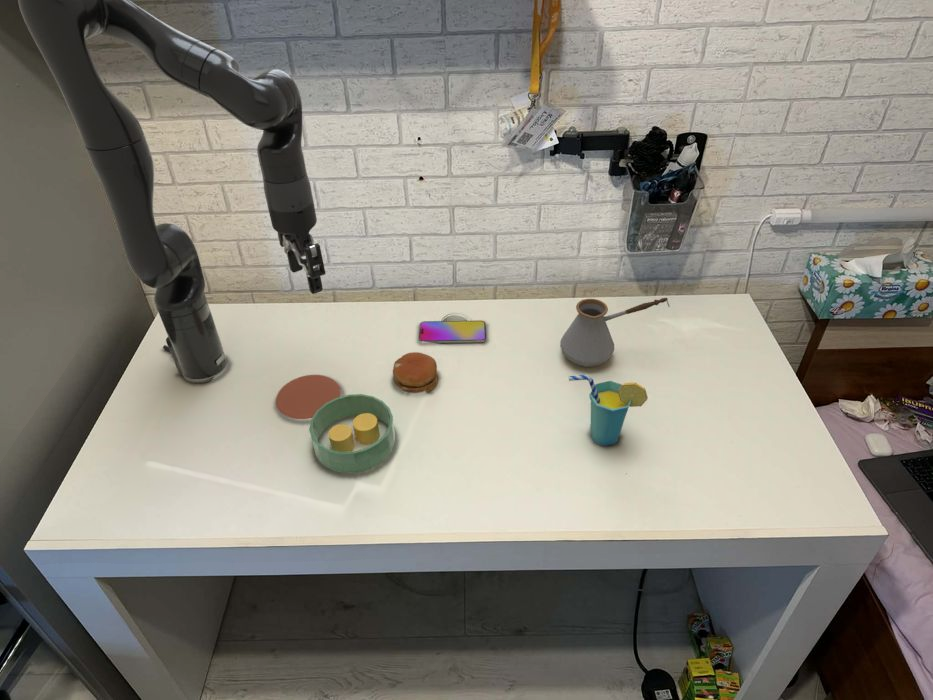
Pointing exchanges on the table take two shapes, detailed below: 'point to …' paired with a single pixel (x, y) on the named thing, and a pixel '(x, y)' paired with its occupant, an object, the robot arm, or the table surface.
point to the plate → (306, 396)
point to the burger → (415, 372)
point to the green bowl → (359, 458)
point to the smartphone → (452, 331)
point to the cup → (611, 407)
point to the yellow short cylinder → (366, 428)
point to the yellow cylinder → (341, 438)
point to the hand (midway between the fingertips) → (306, 280)
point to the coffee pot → (593, 332)
